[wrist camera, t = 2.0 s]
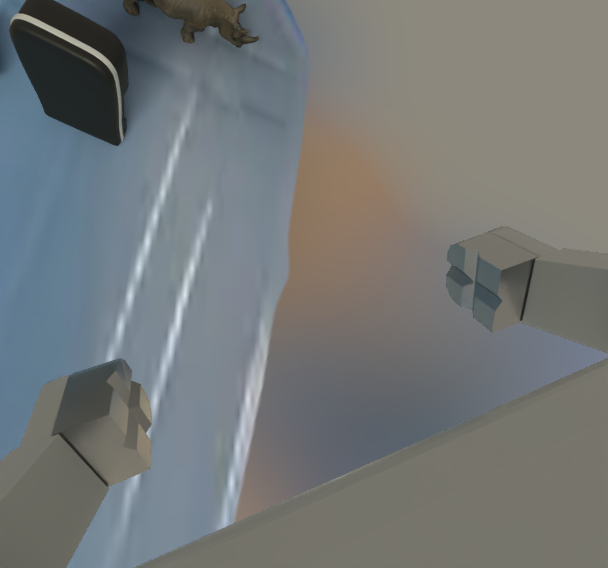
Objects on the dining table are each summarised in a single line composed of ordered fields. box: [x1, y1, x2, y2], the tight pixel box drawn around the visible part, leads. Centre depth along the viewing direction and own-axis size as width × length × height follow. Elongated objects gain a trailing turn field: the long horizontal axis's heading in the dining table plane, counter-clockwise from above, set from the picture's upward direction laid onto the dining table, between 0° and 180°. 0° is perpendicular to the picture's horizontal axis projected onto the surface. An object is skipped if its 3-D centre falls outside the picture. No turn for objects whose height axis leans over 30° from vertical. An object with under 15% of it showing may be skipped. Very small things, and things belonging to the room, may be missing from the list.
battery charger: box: [9, 0, 128, 146], centre depth 30 cm, size 7×4×11 cm, turn 73°
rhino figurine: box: [123, 0, 259, 48], centre depth 38 cm, size 4×14×6 cm, turn 79°
